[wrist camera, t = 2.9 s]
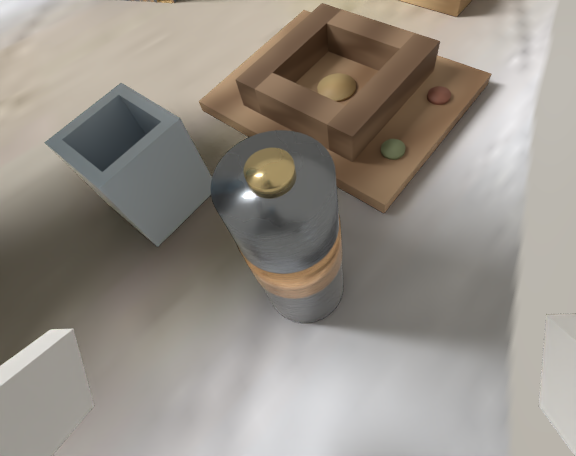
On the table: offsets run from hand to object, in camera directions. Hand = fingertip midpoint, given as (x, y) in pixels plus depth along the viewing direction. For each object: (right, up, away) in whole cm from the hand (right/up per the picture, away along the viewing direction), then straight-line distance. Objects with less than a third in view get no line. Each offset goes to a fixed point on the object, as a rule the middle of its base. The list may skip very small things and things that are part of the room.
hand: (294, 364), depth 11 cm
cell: (+1, 0, +13) cm, 13 cm away
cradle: (+4, +14, +20) cm, 25 cm away
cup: (-10, +6, +18) cm, 21 cm away
